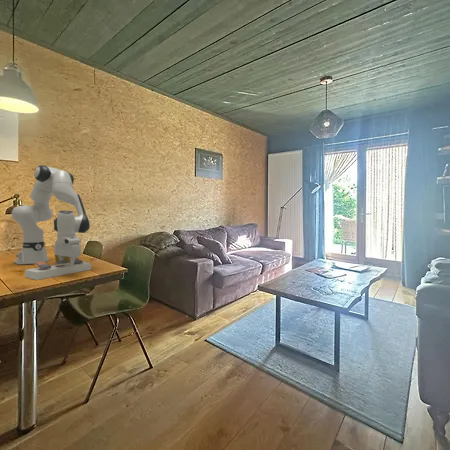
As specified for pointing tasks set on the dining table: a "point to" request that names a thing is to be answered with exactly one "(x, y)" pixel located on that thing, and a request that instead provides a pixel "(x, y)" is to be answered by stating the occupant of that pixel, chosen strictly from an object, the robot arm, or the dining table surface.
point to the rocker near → (42, 265)
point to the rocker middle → (60, 262)
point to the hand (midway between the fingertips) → (67, 264)
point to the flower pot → (63, 257)
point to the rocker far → (77, 261)
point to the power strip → (56, 270)
